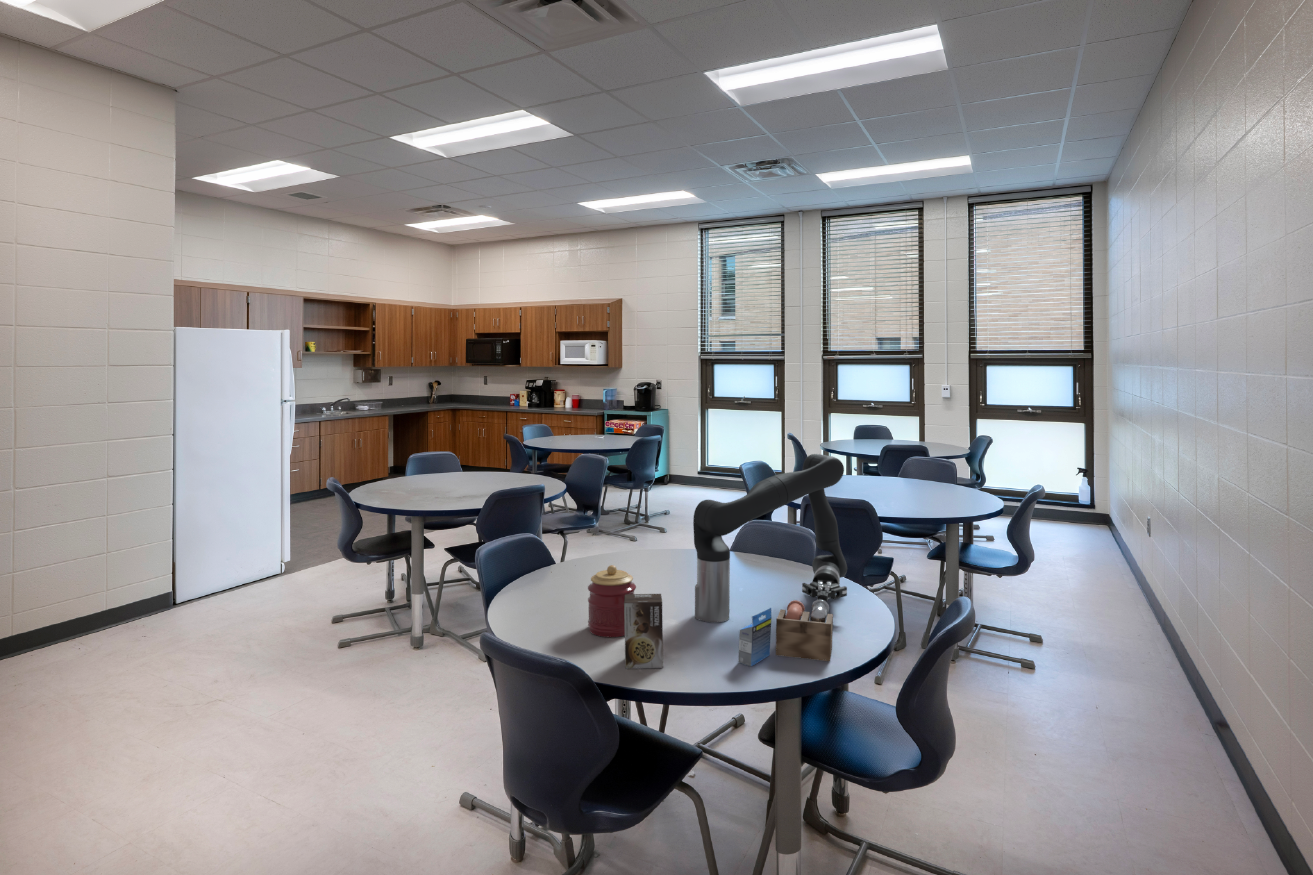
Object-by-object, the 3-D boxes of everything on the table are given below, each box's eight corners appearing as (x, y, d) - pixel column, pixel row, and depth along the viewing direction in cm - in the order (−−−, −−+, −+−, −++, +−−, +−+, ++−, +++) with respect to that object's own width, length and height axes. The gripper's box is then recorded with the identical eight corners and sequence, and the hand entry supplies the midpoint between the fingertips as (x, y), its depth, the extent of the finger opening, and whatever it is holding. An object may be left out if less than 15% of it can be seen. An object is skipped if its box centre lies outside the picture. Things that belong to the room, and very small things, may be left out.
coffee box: (662, 657, 175) (662, 593, 173) (663, 668, 168) (663, 601, 167) (624, 658, 175) (624, 593, 173) (624, 669, 168) (624, 601, 167)
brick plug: (782, 628, 178) (783, 611, 178) (787, 616, 187) (787, 599, 187) (800, 630, 177) (801, 612, 177) (804, 617, 186) (804, 601, 186)
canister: (629, 640, 186) (629, 573, 185) (581, 636, 189) (581, 570, 187) (641, 622, 199) (640, 560, 197) (595, 619, 202) (595, 557, 200)
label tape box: (757, 651, 179) (757, 603, 177) (771, 656, 176) (772, 607, 175) (737, 663, 172) (738, 613, 171) (752, 667, 169) (753, 616, 168)
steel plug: (808, 627, 179) (808, 610, 179) (811, 615, 188) (811, 598, 188) (826, 629, 178) (826, 611, 177) (828, 616, 187) (829, 600, 186)
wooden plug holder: (775, 655, 176) (776, 618, 176) (780, 642, 184) (780, 607, 184) (830, 661, 173) (831, 624, 172) (832, 648, 181) (832, 612, 180)
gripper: (803, 566, 212) (797, 583, 196) (849, 570, 209) (847, 587, 192) (803, 591, 213) (797, 610, 196) (849, 595, 209) (847, 614, 193)
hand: (822, 598), depth 194 cm, fingers closed
